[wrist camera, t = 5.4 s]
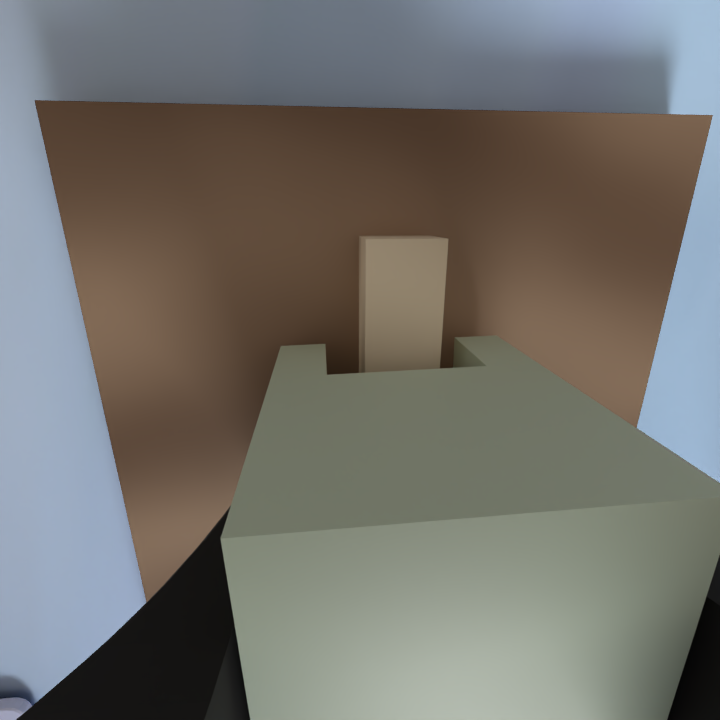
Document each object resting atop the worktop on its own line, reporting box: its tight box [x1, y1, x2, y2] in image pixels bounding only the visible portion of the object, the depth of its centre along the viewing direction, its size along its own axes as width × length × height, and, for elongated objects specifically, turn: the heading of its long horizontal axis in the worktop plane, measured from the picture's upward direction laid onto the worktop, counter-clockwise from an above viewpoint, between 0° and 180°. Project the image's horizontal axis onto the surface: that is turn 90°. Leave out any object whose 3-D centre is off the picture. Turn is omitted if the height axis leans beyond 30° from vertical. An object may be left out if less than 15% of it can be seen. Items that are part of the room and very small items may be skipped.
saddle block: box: [221, 335, 720, 720], centre depth 8 cm, size 6×5×6 cm
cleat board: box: [35, 100, 713, 602], centre depth 11 cm, size 16×14×3 cm
